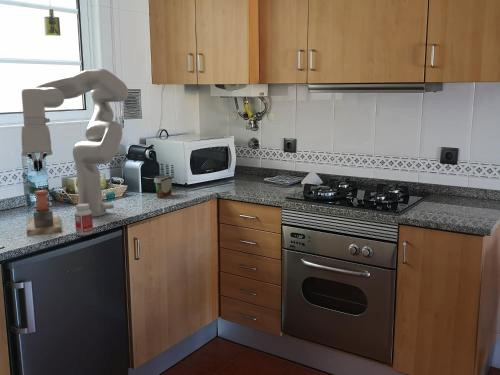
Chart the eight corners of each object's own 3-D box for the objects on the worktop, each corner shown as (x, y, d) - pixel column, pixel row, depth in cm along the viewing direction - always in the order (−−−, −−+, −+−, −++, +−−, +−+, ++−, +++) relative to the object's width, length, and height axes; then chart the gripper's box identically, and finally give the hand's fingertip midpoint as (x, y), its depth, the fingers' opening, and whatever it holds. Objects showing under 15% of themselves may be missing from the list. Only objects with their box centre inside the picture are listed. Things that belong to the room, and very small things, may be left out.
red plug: (49, 212, 207) (47, 189, 205) (49, 214, 203) (47, 191, 201) (37, 213, 205) (35, 190, 204) (37, 215, 201) (34, 192, 200)
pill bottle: (95, 231, 202) (93, 202, 200) (90, 235, 196) (88, 206, 194) (79, 231, 203) (77, 203, 201) (73, 236, 197) (71, 206, 195)
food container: (162, 193, 274) (161, 174, 272) (172, 194, 272) (172, 175, 270) (150, 198, 262) (149, 178, 261) (161, 199, 260) (160, 179, 259)
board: (59, 219, 222) (58, 200, 221) (61, 232, 202) (59, 211, 201) (28, 222, 218) (27, 203, 217) (27, 235, 198) (25, 214, 197)
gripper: (56, 121, 204) (59, 168, 207) (13, 122, 198) (17, 171, 201) (56, 121, 197) (59, 171, 200) (12, 123, 192) (16, 173, 195)
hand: (38, 171), depth 201 cm, fingers closed
